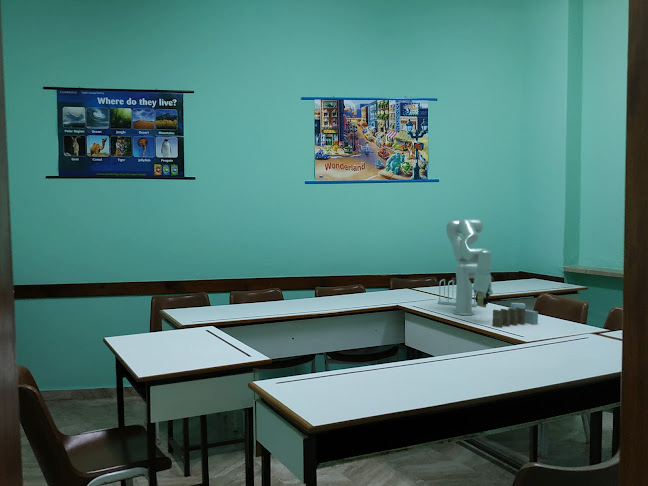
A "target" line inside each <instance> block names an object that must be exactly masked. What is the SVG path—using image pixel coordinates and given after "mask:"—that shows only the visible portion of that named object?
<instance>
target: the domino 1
mask: <svg viewBox="0 0 648 486" xmlns="http://www.w3.org/2000/svg"><path fill="white" fill-rule="evenodd" d="M486 295H487V293H486ZM477 296H478V297H477V306H476V307H480V308H487V304H485V305H484V304H483V298H484V293H483V292H479V291H478V295H477Z"/></svg>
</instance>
